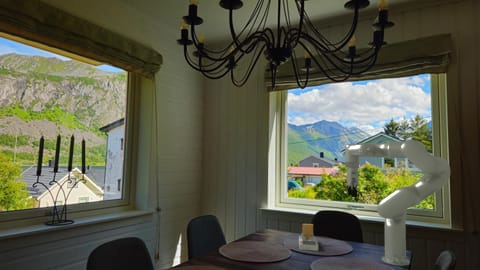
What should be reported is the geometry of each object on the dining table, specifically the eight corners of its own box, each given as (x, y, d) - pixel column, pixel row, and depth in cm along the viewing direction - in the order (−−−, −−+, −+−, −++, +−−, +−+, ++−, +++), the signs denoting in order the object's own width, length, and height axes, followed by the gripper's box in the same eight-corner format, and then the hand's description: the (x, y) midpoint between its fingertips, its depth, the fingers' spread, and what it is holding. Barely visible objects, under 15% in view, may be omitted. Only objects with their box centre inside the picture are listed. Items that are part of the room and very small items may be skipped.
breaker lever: (313, 239, 186) (313, 225, 187) (302, 238, 187) (302, 224, 188) (312, 238, 188) (312, 224, 189) (302, 237, 189) (302, 223, 190)
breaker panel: (318, 250, 173) (318, 241, 173) (299, 249, 175) (299, 240, 175) (315, 241, 193) (315, 233, 193) (298, 240, 194) (299, 232, 195)
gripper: (362, 166, 169) (362, 198, 167) (355, 165, 186) (356, 194, 184) (347, 165, 170) (348, 197, 168) (342, 165, 187) (342, 194, 185)
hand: (352, 196), depth 176 cm, fingers open, 9 cm apart
